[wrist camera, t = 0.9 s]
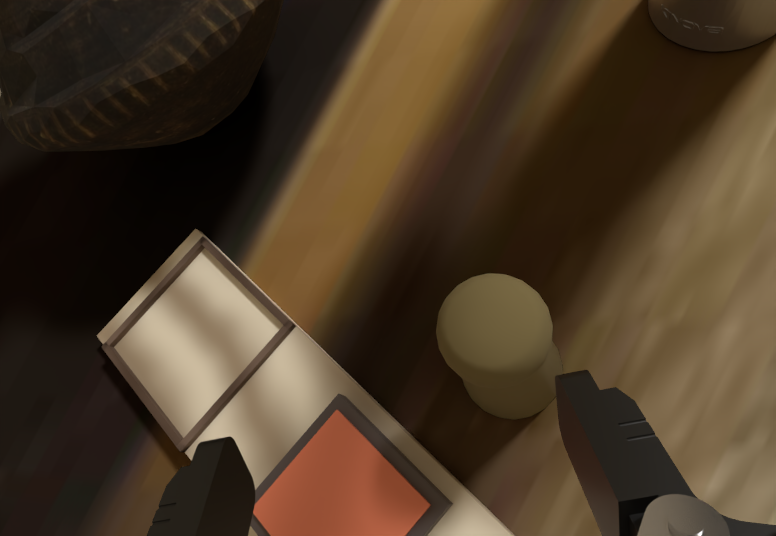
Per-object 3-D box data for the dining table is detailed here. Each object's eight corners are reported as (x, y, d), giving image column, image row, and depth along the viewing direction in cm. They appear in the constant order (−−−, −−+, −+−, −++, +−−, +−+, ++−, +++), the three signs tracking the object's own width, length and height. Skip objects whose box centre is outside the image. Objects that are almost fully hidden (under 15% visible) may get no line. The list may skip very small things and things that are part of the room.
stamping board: (203, 233, 44) (191, 225, 42) (531, 551, 30) (530, 554, 28) (106, 338, 43) (91, 334, 41) (397, 719, 29) (389, 730, 27)
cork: (549, 433, 31) (544, 410, 22) (449, 402, 34) (402, 369, 24) (573, 332, 33) (577, 269, 23) (475, 309, 35) (441, 242, 25)
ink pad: (345, 396, 35) (336, 392, 33) (453, 503, 31) (448, 504, 29) (248, 508, 34) (235, 510, 32) (346, 634, 30) (335, 641, 28)
